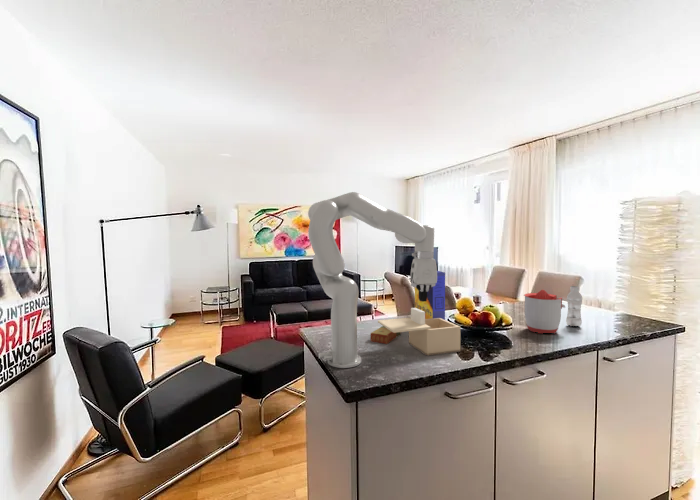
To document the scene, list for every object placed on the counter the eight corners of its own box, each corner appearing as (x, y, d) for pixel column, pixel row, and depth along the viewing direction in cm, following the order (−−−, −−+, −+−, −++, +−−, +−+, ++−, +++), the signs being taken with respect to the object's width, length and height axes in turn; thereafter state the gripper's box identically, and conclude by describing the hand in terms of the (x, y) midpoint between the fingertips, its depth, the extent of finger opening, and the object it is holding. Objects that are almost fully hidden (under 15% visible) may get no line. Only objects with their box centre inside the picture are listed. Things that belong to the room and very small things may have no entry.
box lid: (393, 332, 126) (393, 317, 126) (377, 322, 141) (377, 308, 141) (430, 328, 131) (430, 314, 131) (411, 319, 146) (411, 305, 146)
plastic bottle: (562, 325, 171) (563, 286, 170) (572, 324, 173) (573, 285, 172) (574, 329, 165) (575, 288, 164) (585, 327, 167) (586, 287, 166)
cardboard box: (427, 355, 131) (427, 330, 131) (409, 343, 146) (409, 320, 145) (460, 351, 136) (460, 326, 135) (439, 340, 150) (439, 317, 150)
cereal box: (414, 326, 173) (414, 267, 171) (426, 325, 174) (426, 267, 172) (432, 339, 151) (432, 272, 150) (444, 338, 152) (445, 271, 151)
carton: (370, 342, 150) (369, 332, 150) (384, 332, 164) (384, 323, 163) (387, 344, 146) (387, 335, 145) (401, 334, 160) (400, 325, 159)
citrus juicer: (571, 336, 153) (572, 292, 152) (530, 335, 156) (531, 292, 155) (556, 327, 168) (557, 287, 167) (519, 326, 171) (519, 286, 170)
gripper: (411, 256, 132) (410, 303, 132) (445, 256, 136) (443, 302, 137) (403, 255, 139) (401, 299, 139) (435, 255, 143) (433, 298, 144)
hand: (422, 300), depth 138 cm, fingers closed
